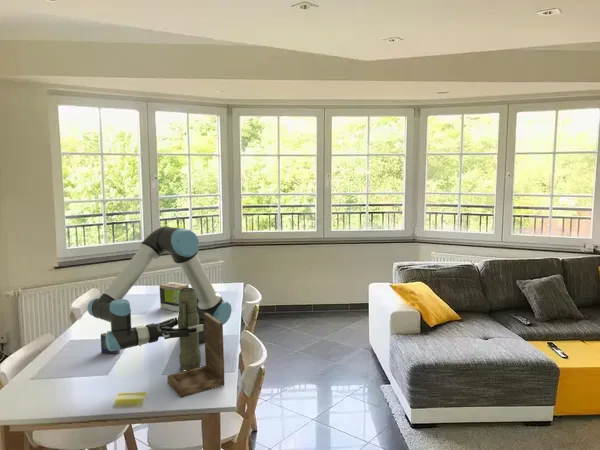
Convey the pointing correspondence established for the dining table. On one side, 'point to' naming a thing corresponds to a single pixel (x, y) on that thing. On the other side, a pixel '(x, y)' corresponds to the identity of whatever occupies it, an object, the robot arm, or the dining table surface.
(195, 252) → the robot arm
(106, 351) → the flask
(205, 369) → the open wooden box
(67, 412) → the dining table surface
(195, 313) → the thermos
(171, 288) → the tea box
